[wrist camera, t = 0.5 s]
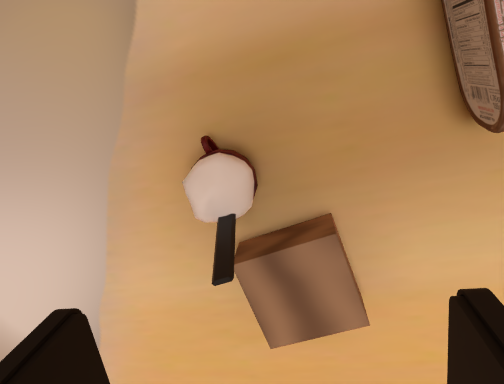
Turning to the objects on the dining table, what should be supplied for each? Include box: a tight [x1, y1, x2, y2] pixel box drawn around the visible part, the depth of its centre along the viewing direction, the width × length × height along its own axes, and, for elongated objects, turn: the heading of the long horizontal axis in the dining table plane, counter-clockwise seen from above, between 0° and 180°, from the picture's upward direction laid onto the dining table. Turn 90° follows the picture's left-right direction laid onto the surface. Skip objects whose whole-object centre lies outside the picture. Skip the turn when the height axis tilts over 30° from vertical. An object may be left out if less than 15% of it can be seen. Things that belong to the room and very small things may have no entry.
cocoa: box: [182, 136, 257, 286], centre depth 29 cm, size 10×6×12 cm, turn 179°
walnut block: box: [234, 213, 370, 349], centre depth 35 cm, size 10×10×5 cm
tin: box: [442, 0, 504, 133], centre depth 25 cm, size 15×3×8 cm, turn 21°
